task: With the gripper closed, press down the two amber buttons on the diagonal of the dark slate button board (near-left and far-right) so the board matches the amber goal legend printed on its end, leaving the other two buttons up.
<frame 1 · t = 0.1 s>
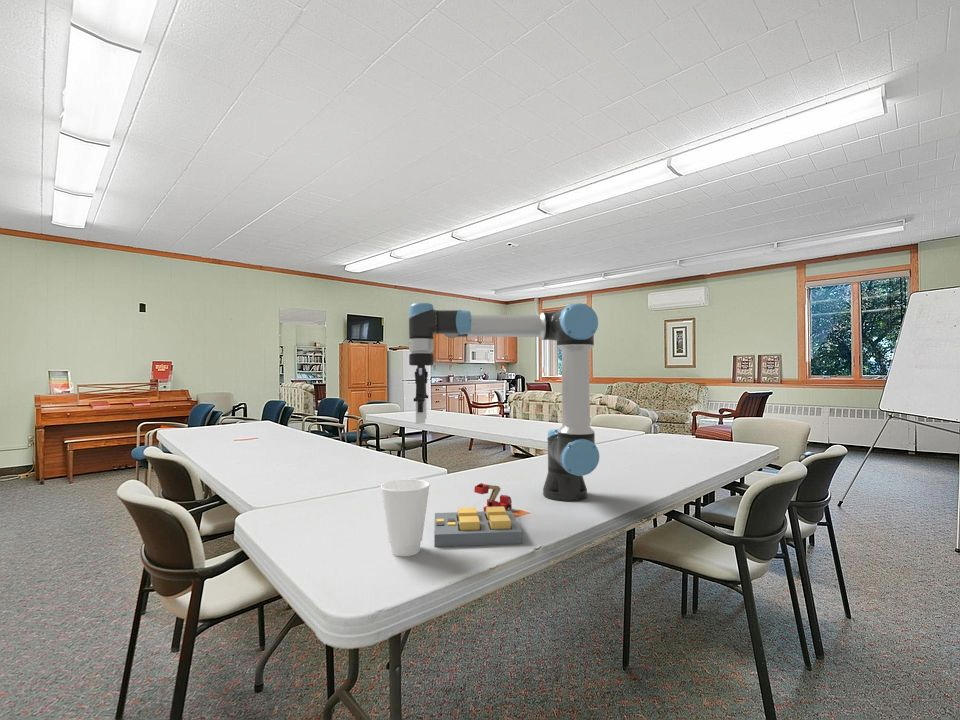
hand: (421, 421, 149), 28 cm above the table, fingers open, 13 cm apart
cup: (405, 551, 116), on the table
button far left: (496, 515, 133), point 3 cm above the table, slide at 0.0 cm
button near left: (499, 524, 125), point 3 cm above the table, slide at 0.0 cm
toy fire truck: (494, 514, 146), on the table
board: (475, 532, 129), on the table
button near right: (469, 525, 125), point 3 cm above the table, slide at 0.0 cm
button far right: (467, 515, 133), point 3 cm above the table, slide at 0.0 cm
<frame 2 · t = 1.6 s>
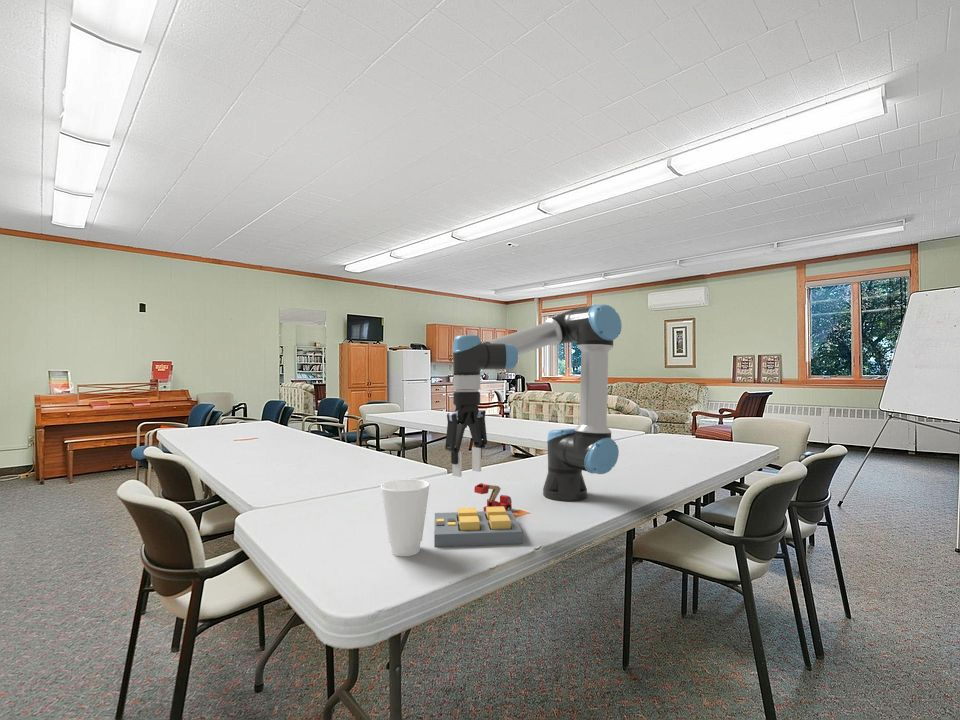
hand: (467, 473, 133), 15 cm above the table, fingers open, 8 cm apart
nothing on the table moved.
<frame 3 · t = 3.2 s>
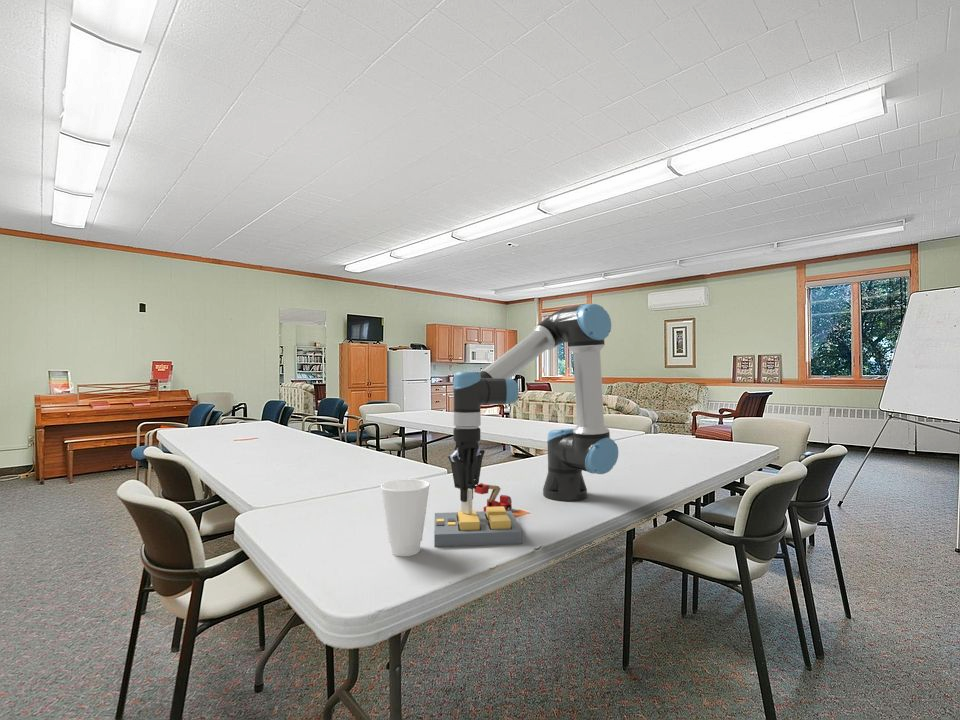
hand: (466, 512, 132), 4 cm above the table, fingers closed
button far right: (467, 519, 133), point 3 cm above the table, slide at 0.9 cm, touching gripper
everything else where it was.
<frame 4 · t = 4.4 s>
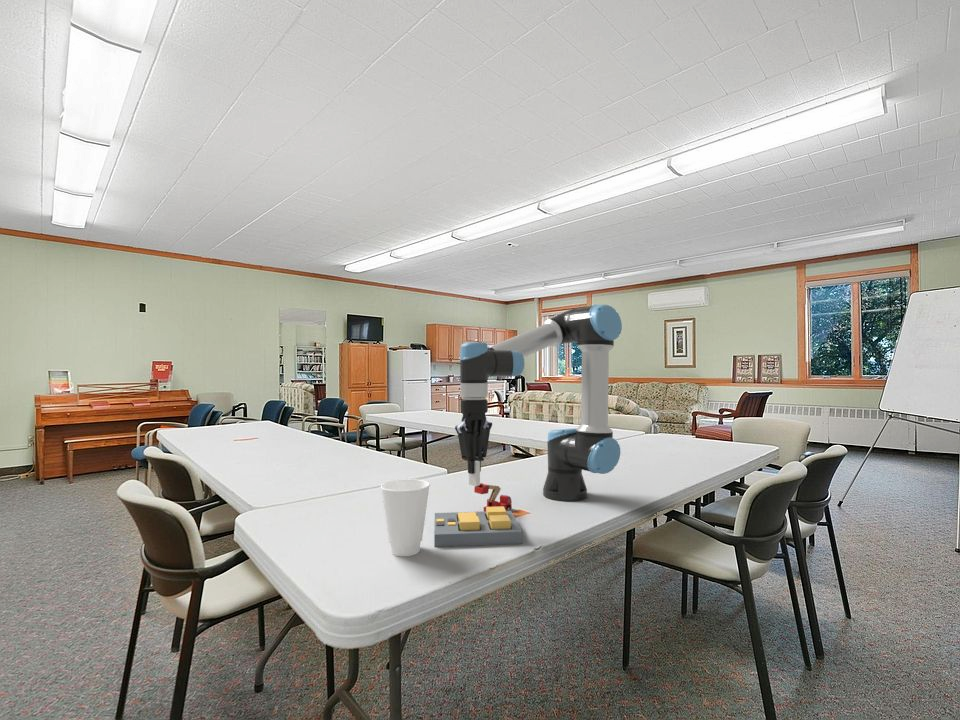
hand: (474, 484, 131), 12 cm above the table, fingers closed
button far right: (467, 520, 133), point 2 cm above the table, slide at 1.3 cm
everything else where it was.
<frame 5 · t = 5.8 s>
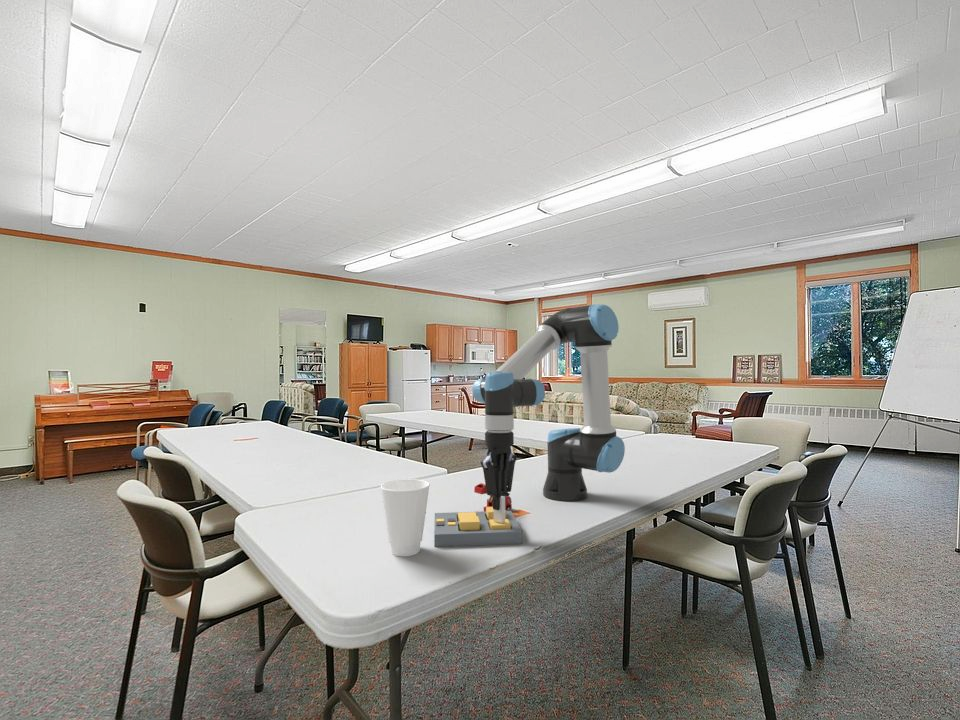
hand: (499, 521, 125), 4 cm above the table, fingers closed
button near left: (499, 528, 125), point 2 cm above the table, slide at 1.1 cm, touching gripper
everything else where it was.
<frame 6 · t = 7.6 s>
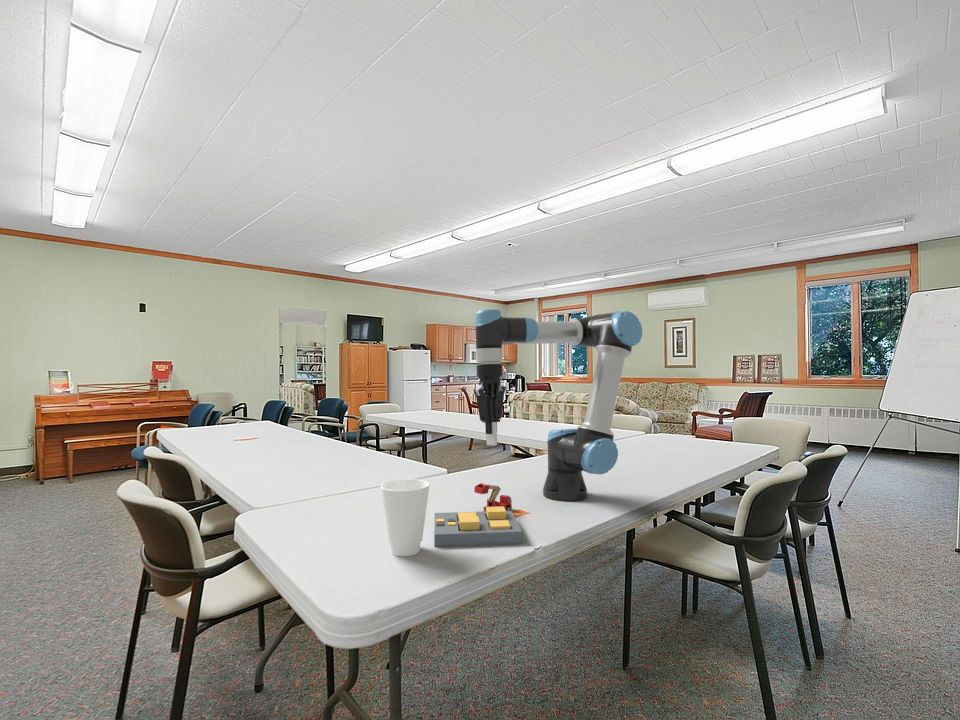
hand: (491, 444, 138), 22 cm above the table, fingers closed
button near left: (499, 529, 125), point 2 cm above the table, slide at 1.3 cm
everything else where it was.
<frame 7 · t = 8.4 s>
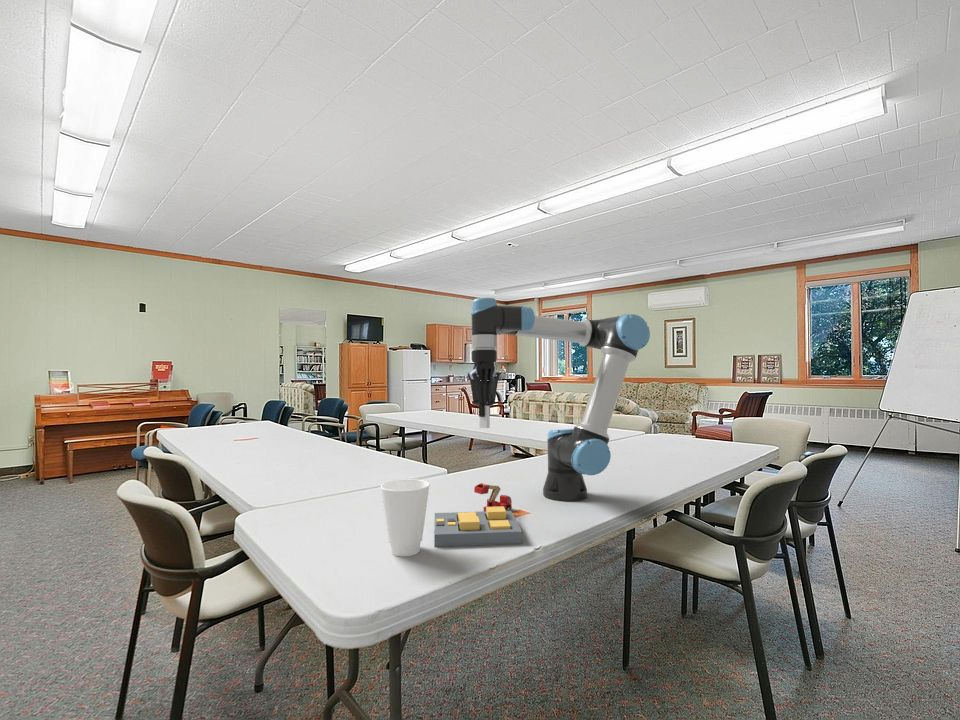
hand: (484, 427, 144), 26 cm above the table, fingers closed
nothing on the table moved.
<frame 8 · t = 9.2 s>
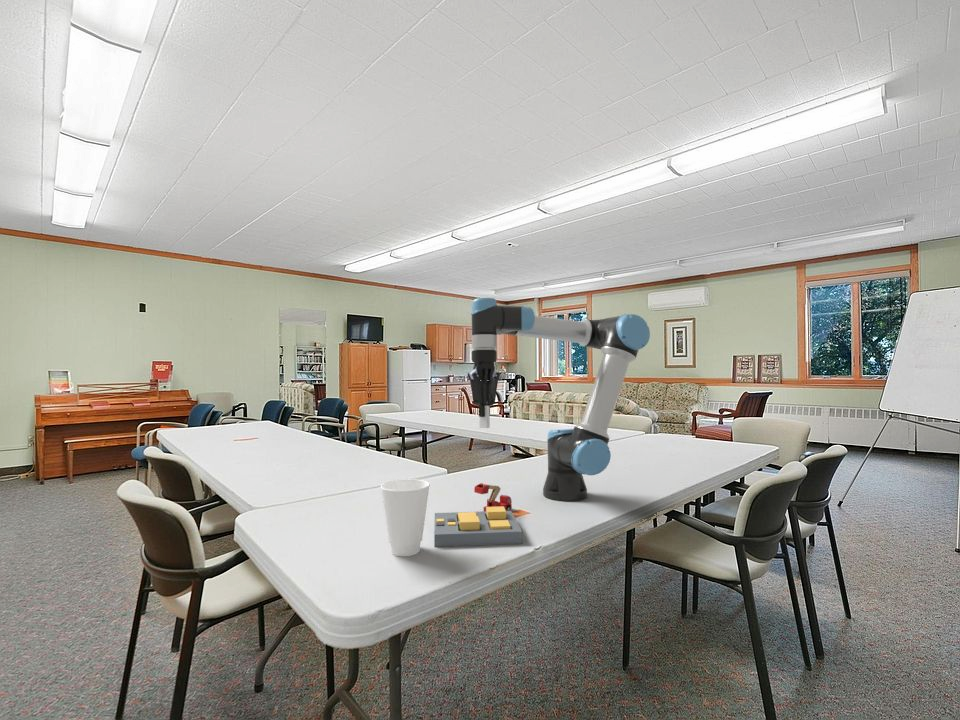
hand: (484, 427, 145), 26 cm above the table, fingers closed
nothing on the table moved.
at the end: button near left slide at 1.3 cm; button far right slide at 1.3 cm; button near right slide at 0.0 cm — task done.
